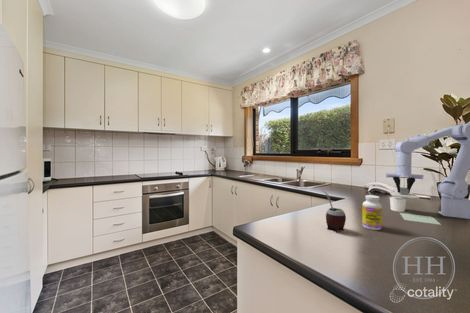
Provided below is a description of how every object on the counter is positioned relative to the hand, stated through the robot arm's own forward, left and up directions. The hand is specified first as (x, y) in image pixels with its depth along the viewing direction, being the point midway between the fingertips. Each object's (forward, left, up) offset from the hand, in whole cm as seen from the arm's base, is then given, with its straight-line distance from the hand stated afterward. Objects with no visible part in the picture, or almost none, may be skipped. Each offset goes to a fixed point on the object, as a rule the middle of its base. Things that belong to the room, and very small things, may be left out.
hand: (403, 192), depth 103 cm
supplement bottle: (+15, +31, -11) cm, 36 cm away
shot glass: (+2, -4, -11) cm, 11 cm away
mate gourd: (+28, +41, -11) cm, 51 cm away
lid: (0, 0, -1) cm, 1 cm away
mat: (-4, +8, -10) cm, 14 cm away
